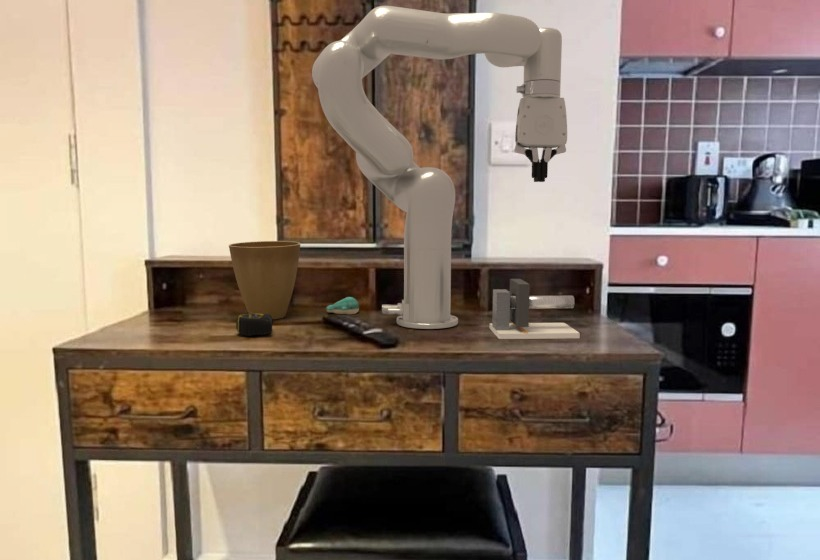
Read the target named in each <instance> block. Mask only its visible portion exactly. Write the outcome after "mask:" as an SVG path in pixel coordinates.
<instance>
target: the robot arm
mask: <svg viewBox="0 0 820 560" xmlns="http://www.w3.org/2000/svg"><path fill="white" fill-rule="evenodd" d="M562 43H563V38H562V33H561V31H560V30H558V29H557V28H554V27H538V25H537V24H536V23H535V22H534V21H533V20H532V19H529V18H527V17H525V16H520V15H514V14H507V13H499V12H456V13H455V12H454V13H445V12H436V11H428V10H424V9H423V10H422V9H421V10H420V9H414V8H410V7H409V8H407V7H400V6H393V5H379V6H376V7H374V8H373V9H371V10H370V11H368V13H367V14H366V15H365V16H364V17H363V18H362V19H361V21H360V22H359V23H358V24H357V25H356V26H355V27H354V28H353V29H352V30H350V31H349V32H348V33H347V34H346V35H345V36H344V37H343V38H341V39H340V40H336V41H333V42H331V43H329V44H328V45H327V46H326V47H324V49H323V50H322V51H321V53H319V55H318V57H316V59H315V61H314V63H313V65H312V69H311V76H312V81H313V84H314V85H315V86H316V88H317V90H318V97H319V101H320V106H321V108H322V109H321V110H322V112H323V114H324V115H325V119H326V120H327V121H328V123H329V124H330V126H331V127H332V128H333V129H334V131H336V133H337V134H338V135H339V136H340V137H341V138H342V139H343V141H344V142H345V143H346V144H347V145H348V146H349V147H351V148H352V150H354V151H355V159H356V164H357V166H358V168H359V170H360V172H361V173H362V174H363V176H364V177H365V178H366V179H367V180H368V181H369V182H371V183H372V184H373V186H375V187H376V188H377V189H378V190H379V191H380V192H381V193H382V194H383V195H385V197H386V198H387V199H389V200H390V202H392V204H393V205H395V206H396V207H398V209H400V210H401V211H403V212H405V213H406V214H405V222H404V230H403V232H404V233H403V234H404V235H403V254H404V255H403V258H404V259H403V261H404V262H403V280H404V281H403V299H401V302H398V303H397V304H381V314H383V315H391V316H392V315H397V317H396V324H397V325H398V326H401V327H404V328H409V329H418V330H419V329H420V330H422V329H423V330H438V329H446V328H447V329H448V328H452V327H455V326H457V325H458V324H459V317H457V316H455V315H453V314H451V304H452V303H451V300H452V299H451V297H452V296H451V293H452V291H451V290H452V289H451V286H452V282H451V281H452V230H453V229H452V226H453V217H454V216H453V215H454V211H455V210H454V209H455V206H456V205H455V203H456V188H455V185H454V182H453V180H452V179H451V177H450V176H449V174H448V173H446V172H445V171H444V170H442V169H439V168H437V167H432V166H426V167H425V166H424V167H420V166H418V164H417V163H416V162H415V161H414V151H413V146H412V145H411V143H410V142H409V140H408V139H407V137H406V136H404V135H403V134H402V132H400V131H399V130H398V129H396V127H394V125H392V123H390V121H389V120H387V119H386V117H385V116H384V115H382V113H380V111H378V109H377V108H376V107H375V106H374V105H373V104H372V102H370V100H369V98H368V97H367V95H366V93H365V90H364V86H363V78H365V77H366V76H367V75H368V74H369V73H370V72H371V71H373V70H374V69H375V68H377V67H378V66H379V65H380V64H381V63H382V62H383V61H384V60H385V59H387V57H389V56H390V55H397V56H405V57H406V56H407V57H417V58H425V59H430V60H431V59H432V60H450V59H457V58H460V57H464V56H465V57H466V56H469V55H477V54H484V56H485V59H486V60H487V61H488V62H489V63H490V64H491V65H492V66H495V67H498V68H513V67H523V83H522V84H521V85H517V86H516V89H515V90H516V91H515V92H516V93H519V94H521V95H522V97H521V98H520V99H519V103H518V109H517V114H516V124H515V132H514V133H515V136H514V137H515V140H514V141H515V146H514V150H513V151H514V152H515V153H517V154H519V155H524V156H525V157H526V158H527V159H528V160H529V161H530V163H531V179H533V182H534V183H544V182H545V181H546V179H547V178H548V167H549V166H548V165H549V163H550V161H551V160H552V158H554V157H555V156H556V155H560V154H564V153H566V152H567V148H566V145H567V141H568V119H567V116H568V115H567V107H566V106H567V105H566V101H565V98H564V97H561V83H562V81H561V80H562V79H561V77H562V51H563V50H562V48H563V47H562ZM538 148H539V149H542V152H541V156H540V157H541V158H540V159H539V150H538Z"/></svg>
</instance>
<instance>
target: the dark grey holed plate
mask: <svg viewBox="0 0 820 560" xmlns="http://www.w3.org/2000/svg"><path fill="white" fill-rule="evenodd" d="M530 290H531V287H530V283H528V282H527V281H525V280H523V279H521V278H509V292H510V296H516V309H510V322H511V323H514V324H515V325H516V326H517V327H529V323H530V309H529V296H530V292H531V291H530Z"/></svg>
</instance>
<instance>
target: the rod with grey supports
mask: <svg viewBox="0 0 820 560" xmlns="http://www.w3.org/2000/svg"><path fill="white" fill-rule="evenodd" d="M574 307H575V297H574V295H529V310H530V309H574ZM510 309H516V296H510V290H508V289H504V288H503V289H500V288H497V289H494V288H493V289H492V317H491V318H492V320H491V321H492V322H491V323H492V326H493V328H494V329H495V330H509V324H510V323H511V320H510Z"/></svg>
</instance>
